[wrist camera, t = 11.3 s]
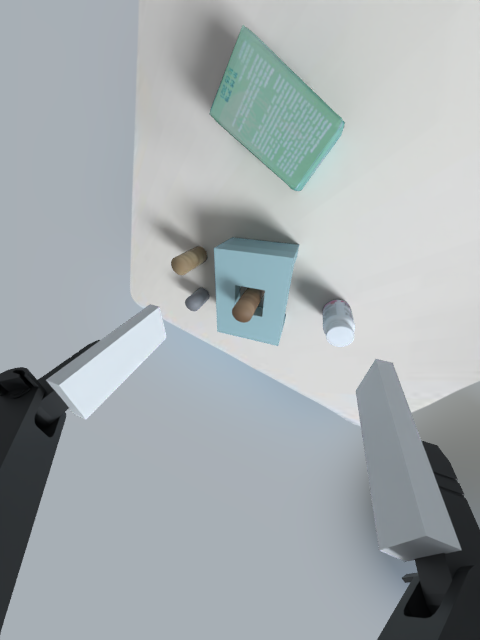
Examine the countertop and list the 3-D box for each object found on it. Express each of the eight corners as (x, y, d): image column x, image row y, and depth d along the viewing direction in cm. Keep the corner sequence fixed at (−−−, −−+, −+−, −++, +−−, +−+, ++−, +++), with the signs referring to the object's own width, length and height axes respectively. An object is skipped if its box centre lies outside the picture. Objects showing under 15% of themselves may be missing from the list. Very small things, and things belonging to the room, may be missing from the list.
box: (301, 192, 30) (296, 193, 24) (229, 129, 29) (206, 114, 23) (342, 136, 26) (348, 120, 20) (259, 59, 25) (240, 18, 19)
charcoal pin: (196, 286, 46) (184, 296, 42) (209, 289, 45) (198, 299, 41) (197, 299, 47) (186, 309, 43) (209, 301, 47) (199, 312, 43)
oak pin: (192, 245, 40) (169, 255, 35) (206, 247, 40) (186, 258, 34) (193, 261, 42) (172, 273, 36) (207, 263, 41) (188, 276, 36)
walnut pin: (253, 274, 39) (231, 302, 30) (269, 276, 39) (252, 306, 29) (252, 289, 41) (231, 320, 32) (267, 291, 40) (251, 324, 31)
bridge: (232, 237, 37) (214, 248, 31) (299, 244, 34) (293, 258, 28) (231, 311, 46) (217, 331, 40) (284, 322, 43) (278, 345, 37)
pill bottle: (321, 320, 40) (322, 347, 33) (323, 298, 38) (324, 323, 31) (348, 321, 38) (354, 350, 32) (352, 299, 36) (359, 325, 29)
